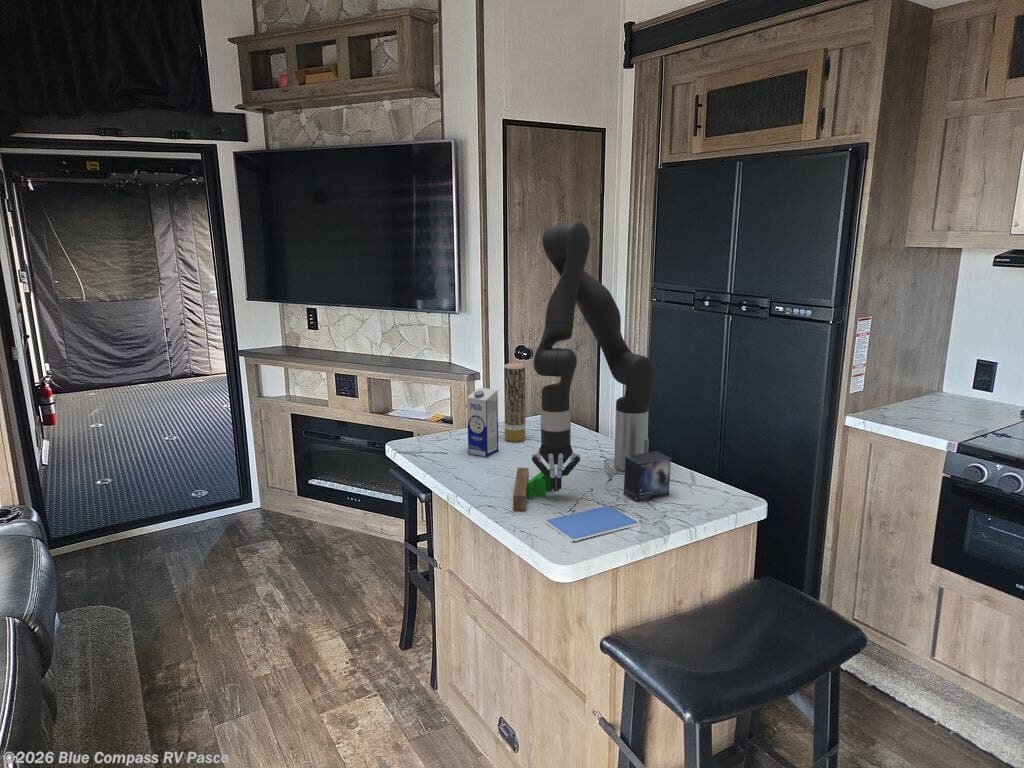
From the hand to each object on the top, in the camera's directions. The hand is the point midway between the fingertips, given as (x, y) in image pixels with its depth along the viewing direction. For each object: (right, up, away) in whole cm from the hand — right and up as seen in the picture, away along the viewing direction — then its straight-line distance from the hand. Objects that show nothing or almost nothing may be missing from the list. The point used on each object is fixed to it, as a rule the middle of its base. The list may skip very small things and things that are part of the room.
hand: (556, 490), depth 175 cm
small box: (+24, -2, +1) cm, 24 cm away
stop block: (-9, -1, +1) cm, 9 cm away
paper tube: (-10, +9, +48) cm, 50 cm away
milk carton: (-20, +6, +35) cm, 41 cm away
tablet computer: (+7, -6, -16) cm, 19 cm away
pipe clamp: (-4, -1, +3) cm, 5 cm away
